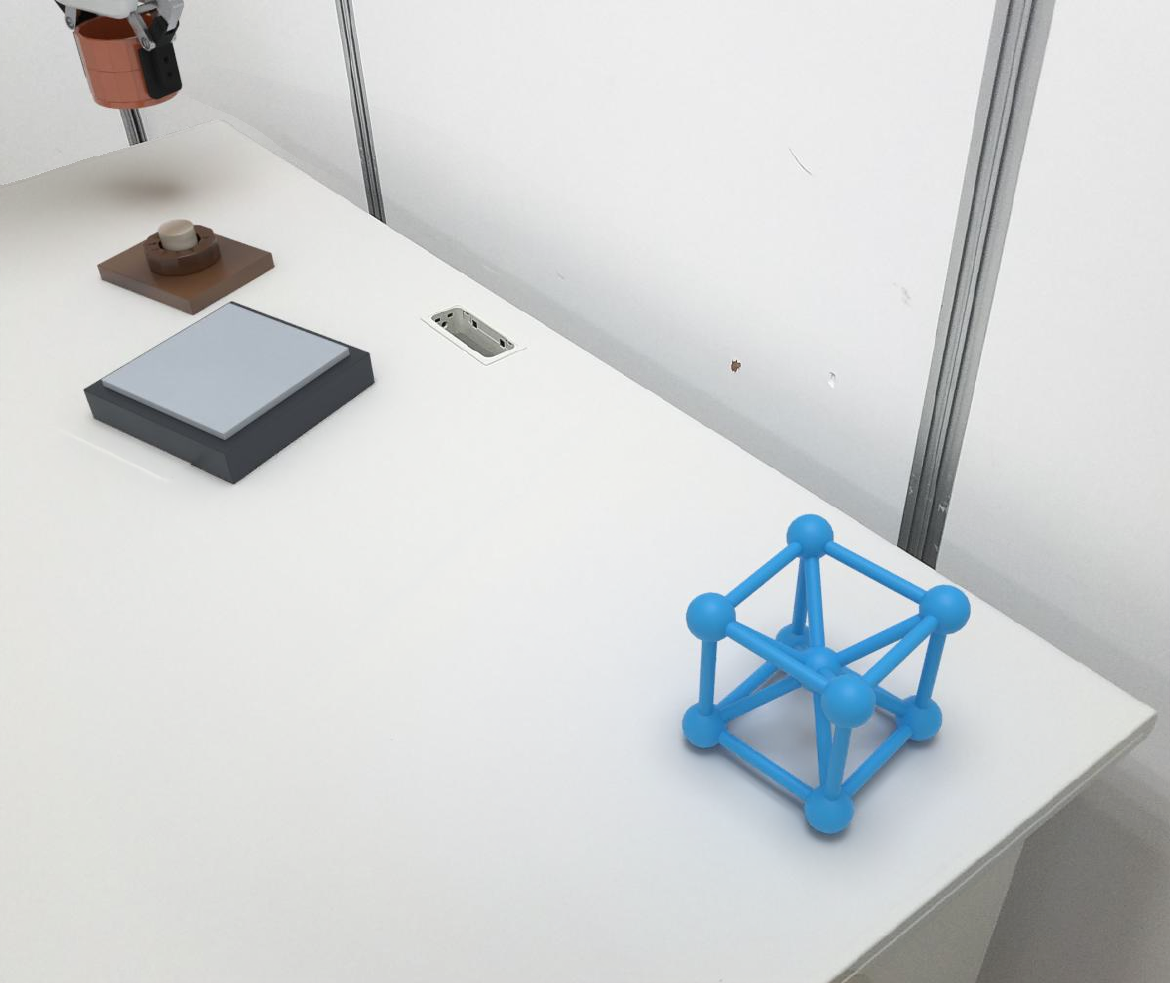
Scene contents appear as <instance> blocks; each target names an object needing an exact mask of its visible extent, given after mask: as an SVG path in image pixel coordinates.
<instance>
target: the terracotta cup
mask: <svg viewBox="0 0 1170 983" xmlns="http://www.w3.org/2000/svg"><path fill="white" fill-rule="evenodd" d="M141 17H142V19H143V20H144V22H145V24H146V26H147V28H148V29H149V27H150V25H151V23H152V21H153V19H152V17H151V15H150V14H146V15H143V16H141ZM73 32H74V35H73V37H74V36H75V39H74V41H75V40H76V42H75V44H76V43H77V46H76V48H77V47H78V49H77V51H78V50H79V53H78V55H79V54H80V56H79V58H80V57H81V60H80V62H81V61H82V63H81V65H82V64H83V67H82V69H83V68H84V71H83V73H84V72H85V74H84V76H85V75H86V77H85V78H86V81H87V85H88V89H89V92H90V94H91V97H92V100H93V102H94V103H95V104H97V105H98V106H100V107H102V108H105V109H106V108H107V109H111V110H113V109H114V110H137V109H145V108H149V107H153V106H154V107H155V106H158V105H161V104H163V103H166V102H168V101H170V100H172V99H173V98H175V97H176V96H177V95H178V94H179V93H180V90H179V91H177V92H174V93H172V94H170V95H167V96H165V97H162V98H160V99H157V100H156V99H152V98H150V97H149V94H148V91H147V87H146V83H145V79H144V75H143V71H142V67H141V63H140V59H139V55H138V50H139V49H141V48H143V47H142V45H141V43H140V42H139V40H138V38H137V36H136V34H135V33H134V31H133V29H132V27H131V25H130V24H129V22H128V20H127V18H122V19H116V18H111V17H107V16H103V15H101V16H97V17H95V18H92V19H89V20H86V21H84V22H82V23H80V24H79V25H77V26H76V27H75V30H73Z"/></svg>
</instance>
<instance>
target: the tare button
mask: <svg viewBox="0 0 1170 983" xmlns="http://www.w3.org/2000/svg"><path fill="white" fill-rule="evenodd" d="M194 225H195V224H194V223H193V222H192V221H190V220H188V219H173V220H168V221H166V222H163V223H162V224H161V225H159V226H158V228H157V232H158V233H159V236H160V240H161V243H162V247H163V249H164V250H166V251H180V250H185V249H189V248H191V247H193V246H195V245H197V243H198V240H197V236H196V233H195V229H194Z"/></svg>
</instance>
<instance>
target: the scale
mask: <svg viewBox="0 0 1170 983" xmlns="http://www.w3.org/2000/svg"><path fill="white" fill-rule="evenodd" d="M375 381H376V380H375V375H374V370H373V364H372V358H371V353H370V352H368V351H366V350H363V349H361V348H358V347H355V346H353V345H351V344H347V343H345V342H343V341H340V340H337V339H335V338H331V337H329V336H326V335H323V334H321V333H318V332H316V331H313V330H310V329H307V328H305V327H303V326H299V325H297V324H294V323H292V322H289V321H286V320H284V319H281V318H278V317H275V316H273V315H270V314H268V313H265V312H262V311H259V310H257V309H254V308H251V307H249V306H247V305H244V304H241V303H238V302H235V301H233V300H231V301H228V302H227V303H225V304H224V305H222V306H220V307H219V308H217V309H215V310H213V311H212V312H210V313H209V314H207V315H205V316H204V317H202V318H200V319H199V320H197V321H195V322H193V323H192V324H190V325H189V326H187V327H185V328H183V329H182V330H180V331H178V332H177V333H175V334H174V335H172V336H170V337H168V338H167V339H165V340H164V341H162V342H160V343H159V344H157V345H155V346H153V347H152V348H150V349H148V350H147V351H145V352H143V353H142V354H140V355H138V356H137V357H134V358H132V359H131V360H130V361H128V362H126V363H125V364H123V365H121V366H120V367H118V368H117V369H115V370H113V371H112V372H110V373H108V374H107V375H105V376H103V377H102V378H100V379H98V380H96V381H95V382H93V383H91V384H90V385H88V386H86V387H84V388H83V389H82V390H83V393H84V396H85V398H86V402H87V404H88V407H89V409H90V411H91V414H92V417H93V419H94V420H96V421H98V422H100V423H103V424H104V425H107V426H109V427H111V428H114V429H116V430H117V431H120V432H122V433H124V434H127V435H128V436H130V437H133V438H134V439H137V440H139V441H142V442H143V443H146V444H148V445H150V446H152V447H154V448H155V449H159V450H160V451H163V452H165V453H167V454H169V455H172V456H174V457H176V458H177V459H180V460H183V461H184V462H186V463H188V464H191V465H192V466H194V467H197V468H199V469H201V470H203V471H204V472H208V473H209V474H211V475H214V476H215V477H218V478H220V479H222V480H223V481H227V482H229V483H230V484H236V483H237V482H238V481H240V480H241V479H243V478H244V477H246V475H248V474H249V473H251V472H252V471H254V470H255V469H256V468H258V467H259V466H261V465H262V464H263V463H265V462H266V461H268V460H269V459H270V458H272V457H274V455H276V454H277V453H278V452H280V451H281V450H283V449H284V448H285V447H287V446H288V445H290V444H291V443H293V442H294V441H295V440H297V439H298V438H299V437H300V436H302V435H303V434H305V433H306V432H308V431H309V430H310V429H313V427H315V426H316V425H318V424H319V423H320V422H322V421H323V420H324V419H326V418H327V417H329V416H330V415H331V414H333V413H335V411H337V410H339V409H340V408H341V407H342V406H344V405H345V404H346V403H348V402H349V401H350V400H352V399H354V398H355V397H357V395H359V394H360V393H362V392H364V391H365V390H366V389H368V387H370V386H372V384H374V383H375Z"/></svg>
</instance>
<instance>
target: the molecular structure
mask: <svg viewBox="0 0 1170 983" xmlns="http://www.w3.org/2000/svg"><path fill="white" fill-rule="evenodd" d="M834 536H835V534H834V530H833V528H832V525H831V524H830V523H829V521H828V520H827V519H826V518H824V517H823V516H821V515H820V514H819V515H818V514H814V513H804V514H802V515H800V516H798V517H795V519H794V520H792V521H791V523H790V524H789V526H788V527H787V531H786V535H785V537H786V539H785V540H786V544H787V546H785V547H784V548H783V549H781V551H779V552H778V553H777V554H775V555H774V556H773V557H772V558H770V559H769V560H768V561H766V562H765V563H764V564H763V565H761V566H760V567H759V568H758V569H757V570H755V571H754V572H753V573H752V574H750V575H749V576H748V577H747V578H746V579H744V580H743V581H742V582H741V583H739V584H738V585H737V586H735V588H733V589H731V591H729V592H728V593H726V595H723V594H721V593H718V592H711V591H710V592H704V593H701V594H699V595H697V596H696V597H694V598H693V599H692V600H691V601H690V603H689V604H688V606H687V609H686V613H685V622H686V626H687V628H688V630H689V632H690V634H692V635H693V636H694V637H695V638H696V639H697V640H700V641H701V648H700V649H701V652H700V668H699V669H700V671H699V690H698V702H696V703H694V704H693V705H691V706H689V707H688V708H687V709H686V711H685V712H684V714H683V717H682V720H681V730H682V734H683V735H684V737H685V738H686V740H687V741H688V742H689V743H690V744H691V745H694V746H695V747H698V748H703V749H707V748H712V747H714V746H716V745H718V744H720V745H721V746H723V747H724V748H725V749H727V750H728V751H730V752H731V753H733V754H734V755H736V757H739V758H740V759H742V760H743V761H745V762H746V763H748V764H749V765H751V766H752V767H753V768H755V769H756V770H758V771H760V772H761V773H762V774H764V775H765V776H767V777H768V778H770V779H771V780H773V781H774V782H776V783H777V784H779V785H780V786H781V787H783V788H784V789H786V790H787V791H789V792H790V793H792V794H793V795H795V796H796V797H797V798H799V799H801V800H802V801H803V802H804V803H803V804H804V805H803V806H804V815H805V818H806V820H807V822H808V824H809V825H810V826H811V827H812V828H813V829H815V830H816V831H818V832H821V833H822V834H837V833H840V832H842V831H844V830H845V829H846V828H847V827H848V826H849V825H850V824H851V822H852V820H853V818H854V816H855V815H854V814H855V804H854V801H853V799H852V797H853V796H854V795H855V794H856V793H857V792H859V790H860V789H861V788H862V787H863V786H864V785H865V784H866V783H867V782H868V781H869V780H870V779H871V778H872V777H873V776H874V775H875V774H876V773H877V772H878V771H879V769H881V768H882V767H883V766H884V765H885V764H886V762H888V760H890V758H892V756H893V755H894V754H895V753H897V751H898V750H899V749H901V747H903V746H904V744H905V743H906V742H907V741H908V740H911V739H912V741H917V742H923V741H928V740H929V739H932V738H934V737H935V736H936V735H937V734H938V733H939V731H940V729H941V727H942V725H943V713H942V710H941V708H940V706H939V705H938V703H937V702H936V701H935V700H934V699H932V697H933V693H934V688H935V684H936V681H937V676H938V673H939V669H940V665H941V664H940V663H941V661H942V656H943V653H944V648H945V645H946V640H947V636H948V635H952V634H955V633H957V632H959V631H961V630H962V629H964V627H965V626H967V624H968V622H969V620H970V618H971V614H972V612H971V611H972V610H971V608H972V607H971V602H970V599H969V597H968V596H967V594H966V593H965V592H964V591H963V590H961V589H960V588H958V587H957V586H955V585H951V584H939V585H935V586H932V587H931V588H929V589H928V590H926V589H924V588H922V587H920V586H919V585H916V584H914V583H912V582H910V581H909V580H907V579H905V578H903V577H902V576H899V575H898V574H896V573H893V572H892V571H890V570H888V569H887V568H885V567H883V566H880V565H879V564H877V563H874V561H871V560H870V559H868V558H865V557H864V556H862V555H861V554H858V553H856V552H854V551H853V550H852V549H851V550H850V549H849V548H847V547H845V546H843V545H841V544H840V543H838V542H836V541H835V538H834ZM826 555H827V556H829V557H831V558H832V559H834V560H835V561H837V562H840V563H841V564H843V565H845V566H847V567H849V568H850V569H852V570H853V571H856V572H858V573H859V574H861V575H864V576H865V577H867V578H869V579H871V580H873V581H874V582H876V583H878V584H880V585H882V586H884V587H885V588H888V589H889V590H891V591H893V592H894V593H897V594H898V595H900V596H902V597H904V598H905V599H907V600H910V601H911V602H913V603H915V604H917V605H918V613H916V614H915V615H912V616H910V617H908V618H906V619H904V620H902V621H900V622H898V623H896V624H893V625H892V626H890V627H887V628H886V629H884V630H881V631H879V632H877V633H875V634H873V635H871V636H869V637H867V638H865V639H862V640H860V641H858V642H857V643H854V644H852V645H850V646H848V647H846V648H844V649H842V650H840V651H838V652H836V651H834V649H832V648H830V647H828V646H826V638H825V637H826V636H825V625H824V623H825V622H824V610H823V597H822V596H823V595H822V582H821V568H820V559H822V558H823V557H824V556H826ZM797 558H798V559H799V562H798V571H797V579H796V588H795V595H794V604H793V611H792V620H791V623H788V624H787V625H785V626H783V627H782V628H781V629H780V630H779V631H778V632H777V634H776V635H775V638H772V637H771V636H768V635H766V634H764V633H762V632H760V631H758V630H756V629H754V628H751V627H750V626H747V625H745V624H744V623H741V622H739V621H737V613H736V608H737V607H738V606H739V605H741V603H743V602H744V601H745V600H746V599H748V598H749V597H750V596H752V594H753V593H756V591H758V590H759V589H760V588H761V587H762V586H764V585H765V584H766V583H767V582H769V581H770V580H771V579H772V578H774V577H775V576H776V575H777V574H778V573H780V572H781V571H782V570H783V569H785V568H786V567H788V565H789V564H790V563H792V562H793V561H795V560H796V559H797ZM807 622H808V624H807ZM725 638H729V639H730V640H732V641H734V642H735V643H737V644H738V645H740V646H742V647H743V648H745V649H746V650H748V651H749V652H751V653H753V654H754V655H756V656H758V657H759V658H761V659H763V660H765V662H764V663H763V664H762V665H761V666H759V667H758V668H756V670H755V671H753V672H752V673H751V674H750V675H749V676H748V677H746V679H745V680H743V681H742V682H741V683H740V684H739V685H738V686H736V687H735V688H734V689H732V691H731V692H729V693H728V694H727V695H726V696H725V697H724V698H722V700H720V701H719V702H718V703H714V701H715V685H716V684H715V682H716V668H717V667H716V666H717V653H718V642H720V641H722V640H724V639H725ZM927 638H929V639H928V644H927V648H926V652H925V656H924V661H923V665H922V669H921V673H920V678H919V682H918V685H917V691H916V694H912V695H909V696H908V697H906V698H903V699H901V698H900V697H898V696H897V695H895V694H893V693H892V692H890V691H888V690H886V689H885V688H883V687H882V686H880V683H882V682H883V681H884V680H885V679H886V678H887V677H888V676H889V675H890V674H891V673H892V672H893V671H895V669H896V668H897V667H898V666H899V665H900V664H901V663H902V662H904V661H905V660H906V659H907V658H908V657H909V656H910V655H911V654H912V653H913V652H914V651H915V650H916V649H917V648H918V647H919V646H920V645H921V644H922V643H923V642H924V641H926V639H927ZM894 643H896V644H895V645H893V647H891V648H890V649H889V651H887V652H886V653H885V654H884V655H883V656H882V657H881V658H880V659H879V660H878V661H876V663H874V665H873V666H871V667H870V668H869V669H868V670H867V671H866V672H865V673H864V674H863V675H861V674H859V673H858V672H856V671H855V670H853V669H851V668H850V667H848V665H850V664H852V663H854V662H856V661H858V660H862V659H863V658H865V657H867V656H869V655H871V654H873V653H875V652H877V651H879V650H881V649H884V648H886V647H888V646H890V645H892V644H894ZM778 670H781V671H782V672H783V673H785V674H787V675H788V676H785V677H784V678H782V679H780V680H778V681H776V682H774V683H771V684H769V685H768V686H766V687H763V688H761V689H759V690H757V689H758V688H759V687H760V686H761V685H763V684H764V683H765V682H766V681H767V680H768V679H770V678H771V677H772V676H773V675H774V674H775V673H776V672H777V671H778ZM800 688H803V689H805V690H806V691H808V692H810V693H811V694H812V695H813V707H814V708H813V710H814V721H815V722H814V723H815V738H816V752H817V765H818V766H817V769H818V779H819V783H818V784H819V785H817V786H815V787H814V788H813V787H811V786H810V785H808V784H807V783H805V782H804V781H803V780H801V779H799V778H798V777H797V776H795V775H793V774H792V773H791V772H789V771H788V770H786V769H784V768H783V767H782V766H780V765H779V764H777V763H776V762H774V761H773V760H771V759H770V758H768V757H766V756H765V755H764V754H762V753H760V752H759V751H758V750H756V749H755V748H753V747H752V746H750V745H749V744H748V743H746V742H744V741H742V740H741V739H739V737H737V736H735V735H734V734H732V733H731V732H729V731H728V729H729V726H728V725H729V722H730V721H733V720H734V719H737V718H738V717H741V716H743V715H745V714H748V713H749V712H752V711H754V710H755V709H758V708H760V707H762V706H764V705H766V704H768V703H770V702H773V701H774V700H776V699H778V698H781V697H783V696H785V695H787V694H789V693H791V692H793V691H795V690H797V689H800ZM756 690H757V691H756ZM876 707H879V708H880V709H882V710H885V711H886V712H888V713H891V714H893V715H894V722H895V726H896V728H897V729H895V730H894V731H893V733H892V734H890V735H889V736H888V737H887V738H886V739H885V740H884V741H883V742H882V744H880V745H879V747H877V748H876V749H875V750H874V751H873V752H872V753H871V754H870V756H869V757H867V759H866V760H865V761H864V762H862V764H860V765H859V767H858V768H857V769H856V770H855V771H854V772H852V773H851V775H850V776H848V777H847V779H846V780H845V781H844V782H843V780H844V779H843V778H844V774H845V768H846V763H847V758H848V752H849V746H850V742H851V736H852V732H853V729H855V728H856V729H857V728H859V727H861V726H863V725H865V724H866V723H867V722H868V721H869V720H870V719H871V718H872V716H873V714H874V713H875V710H876ZM832 725H835V726H834V729H833V730H834V731H833V733H832ZM832 734H833V736H832ZM922 740H923V741H922Z"/></svg>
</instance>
